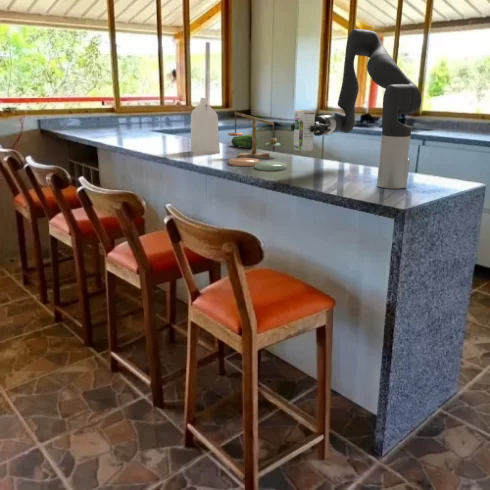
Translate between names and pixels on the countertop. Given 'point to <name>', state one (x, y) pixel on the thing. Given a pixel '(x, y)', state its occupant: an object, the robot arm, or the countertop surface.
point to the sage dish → (271, 166)
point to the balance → (254, 154)
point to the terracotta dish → (243, 161)
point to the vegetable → (243, 141)
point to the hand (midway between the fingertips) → (301, 128)
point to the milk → (204, 129)
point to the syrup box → (303, 130)
